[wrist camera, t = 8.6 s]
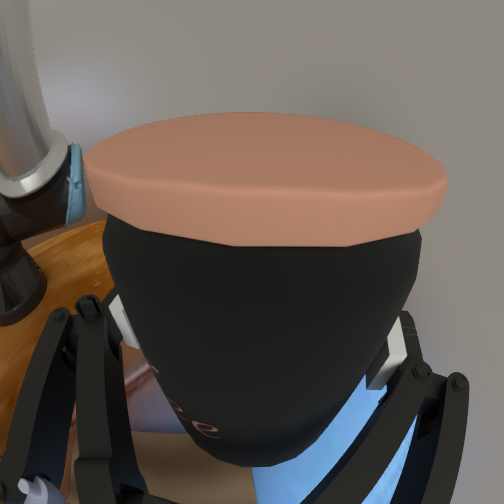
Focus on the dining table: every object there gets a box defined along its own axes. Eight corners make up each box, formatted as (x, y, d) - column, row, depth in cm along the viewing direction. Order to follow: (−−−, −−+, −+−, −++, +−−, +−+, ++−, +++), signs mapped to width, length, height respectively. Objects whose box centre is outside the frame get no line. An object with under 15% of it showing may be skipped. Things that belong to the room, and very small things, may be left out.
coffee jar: (179, 355, 21) (131, 121, 11) (302, 339, 23) (341, 117, 13) (187, 478, 13) (-14, 231, 2) (344, 449, 14) (518, 202, 4)
